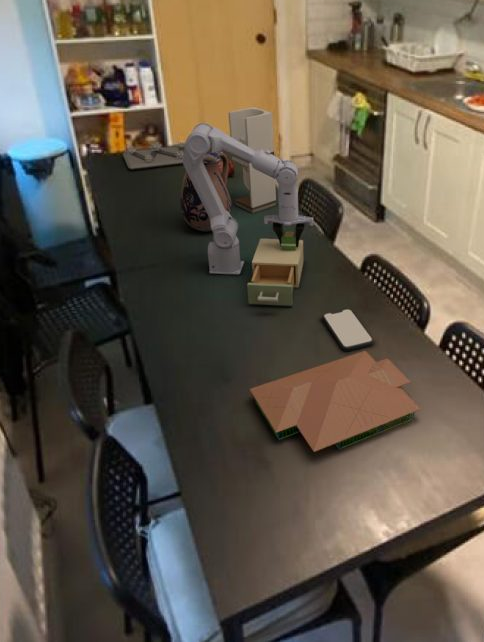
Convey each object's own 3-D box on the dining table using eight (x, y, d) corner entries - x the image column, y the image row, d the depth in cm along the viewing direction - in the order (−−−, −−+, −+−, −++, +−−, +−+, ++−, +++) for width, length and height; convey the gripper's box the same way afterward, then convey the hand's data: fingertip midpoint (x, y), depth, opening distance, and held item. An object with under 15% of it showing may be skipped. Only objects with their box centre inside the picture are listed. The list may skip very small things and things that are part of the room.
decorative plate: (129, 172, 245) (126, 156, 241) (122, 156, 261) (119, 141, 257) (198, 163, 256) (196, 148, 252) (187, 149, 272) (185, 134, 268)
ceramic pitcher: (173, 231, 197) (162, 162, 184) (206, 209, 214) (199, 144, 200) (216, 241, 192) (208, 170, 178) (247, 217, 208) (242, 151, 195)
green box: (295, 252, 170) (295, 239, 167) (281, 251, 170) (280, 238, 167) (297, 241, 175) (297, 229, 173) (283, 241, 176) (283, 228, 173)
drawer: (290, 313, 155) (289, 294, 151) (246, 311, 155) (244, 292, 152) (297, 279, 170) (297, 261, 167) (257, 277, 170) (255, 259, 167)
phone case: (375, 345, 145) (350, 312, 157) (375, 341, 144) (350, 307, 156) (343, 353, 142) (320, 318, 154) (343, 348, 141) (320, 314, 154)
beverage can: (236, 177, 242) (235, 162, 238) (209, 181, 237) (207, 166, 234) (231, 172, 247) (230, 157, 244) (204, 176, 243) (203, 161, 239)
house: (429, 415, 124) (433, 388, 120) (293, 471, 110) (292, 442, 106) (374, 357, 141) (376, 331, 136) (250, 399, 127) (248, 372, 123)
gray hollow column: (259, 197, 225) (254, 107, 206) (276, 205, 219) (272, 113, 199) (235, 204, 218) (228, 112, 199) (252, 213, 212) (246, 118, 193)
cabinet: (298, 287, 168) (298, 264, 164) (253, 285, 168) (251, 262, 164) (303, 262, 181) (303, 240, 176) (261, 260, 181) (260, 238, 177)
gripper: (261, 208, 162) (263, 250, 169) (311, 210, 161) (312, 252, 169) (265, 198, 168) (267, 239, 175) (313, 200, 167) (313, 241, 175)
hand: (289, 245), depth 172 cm, fingers closed on green box, 4 cm apart
